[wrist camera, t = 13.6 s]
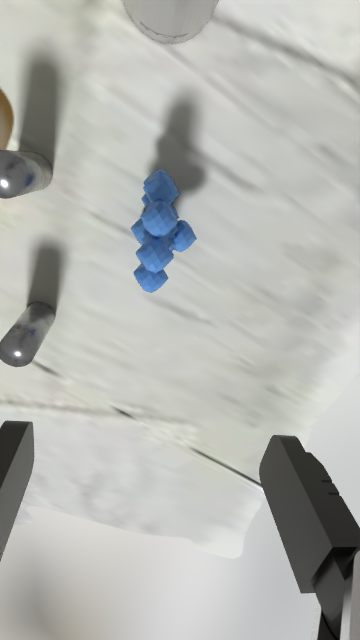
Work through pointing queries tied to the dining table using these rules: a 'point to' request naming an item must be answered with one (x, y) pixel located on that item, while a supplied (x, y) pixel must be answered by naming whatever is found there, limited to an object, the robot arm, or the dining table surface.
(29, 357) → the spacer posts
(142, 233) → the grapes
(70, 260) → the dining table surface
